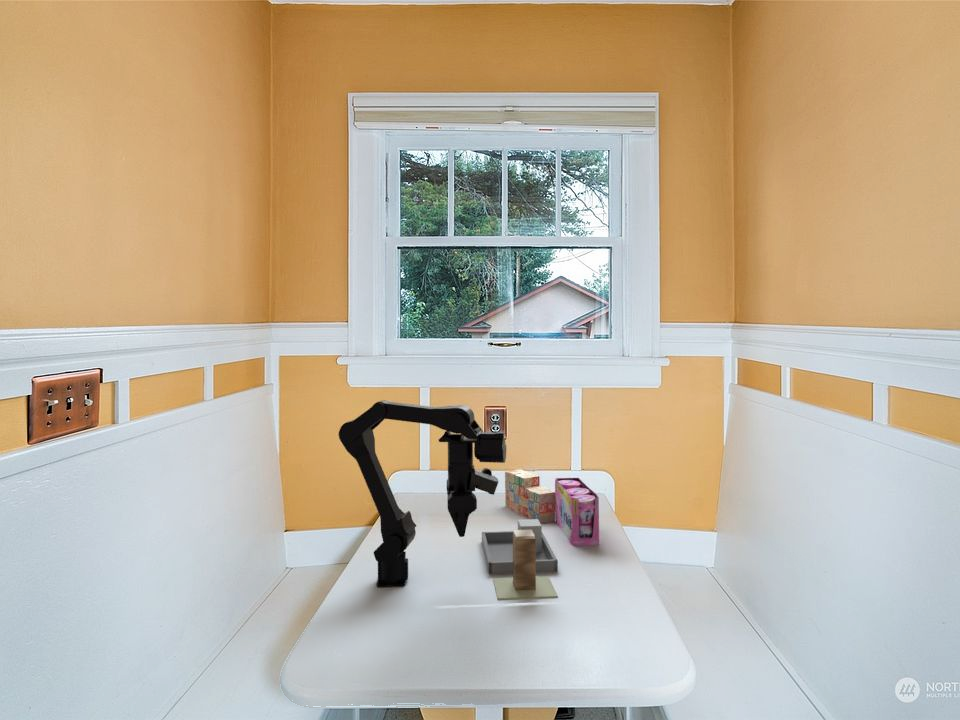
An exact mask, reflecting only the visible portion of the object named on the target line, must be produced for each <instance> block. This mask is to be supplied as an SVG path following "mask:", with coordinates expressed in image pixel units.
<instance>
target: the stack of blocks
mask: <svg viewBox="0 0 960 720" xmlns="http://www.w3.org/2000/svg"><path fill="white" fill-rule="evenodd" d="M540 481H541V480H540V476H539V475H537V474H534V473H531V472H528V471H526V470H524V469H520V468H519V469H512V470H505V471H504V482H505V483H504V488H505V507H506V508H509V509H510V510H511V511H513V512H515V513H517V514H519V515H522V516H524V517H525V516H526V517H525V518H526V519H527V518H528V519H538V520H539V522H540V524H545V522H546V523H550V522H551V523H552V522H556V521H555V490H552V489H550V488H547V487H545V486H541V485H540V483H541V482H540Z"/></svg>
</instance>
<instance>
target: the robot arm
mask: <svg viewBox="0 0 960 720" xmlns="http://www.w3.org/2000/svg"><path fill="white" fill-rule="evenodd" d="M384 420H391V421H401V422H406V423H407V422H409V423H417V424H426V425H430V426H434V427H436V428H438V429H441V430H443V431H444V433H443V435H442V436H441V437H440V438H438V443H447V479H446V492H447V493H446V495H447V498H446V499H447V511H448V513H449V515H450V517H451V520H452V522H453V524H454V527H455V529H456V533H457V535H458V536H459V538H464V537H465V535H466V534H465V533H466V530H467V525H468V521H469V518H470V515H471V514H473V513H474V512H475V511H476V510H477V508H478V499H477V495H476V494H474V493H473V492H476V489H477V490H480V491H483V492H486V493H488V494H489V495H492V496H493V495H495V493H496V490H497V487H498V485H499V479H498V477H496V476H495V475H493V474H492V469H490V468H488V467H484V468H483V469H482V470H476V469H475V465H474V457H475V458H476V460H478V462H479V463H493V464H494V463H497V464H499V463H500V464H501V463H502V464H505V463H506V460H507V444H506V439H505V432H504V431H497V432H484V430H483V429H482V428H481V426H480V425H479V423H478V422H477V421H476V419H475V414H474V411H473V410H472V409H471V407H470V406H468V405H465V404H456V405H447V406H446V405H445V406H429V405H419V404H411V403H402V402H395V401H389V400H384V399H383V400H379V401H377V402H375V403H374V404H372V405H371V406H370V408H368V409H367V410H365V411H364V412H363V413H362V414H360V415H359V416H357V417H356V418H355V419H353V420H349V421H347V422H345V423H343V424H342V425H341V426H340V428H339V431H338V439H339V440H340V442H341V444H342V445H343V447H344V449H345V451H347V453H349V455H350V456H351V457H352V458H353V459H354V460H355V461H356V463H357V466H358V468H359V470H360V472H361V474H362V477H363V479H364V482H365V484H366V486H367V489H368V491H369V493H370V496H371V498H372V501H373V503H374V505H375V508H376V510H377V512H378V515H379V518H380V535H381V538H382V543H381V544H380V545H379V546H378V547H376V549H375V550H374V551H373V555H374V559H375V561H376V562H377V581H376V587H377V588H378V587H379V588H380V587H383V588H385V587H404V586H406V584H407V583H406V582H407V581H408V579H409V558H407V557H406V555H407V553H406V551H405V550H406V549H407V548H408V547H409V545H410V544H411V543H413V540H415V537H416V527H417V523H415V522H414V519H413V517H412V513H411V511H410V510H408V511H406V512H404V511H403V510H402V509H401V508H400V507H399V505H398V503H397V501H396V497H395V496H394V493H393V491H392V489H391V486H390V483H389V482H388V479H387V477H386V475H385V472H384V470H383V467H382V465H381V463H380V460H379V458H378V456H377V454H376V441H375V440H376V438H375V435H374V434H375V433H374V431H373V430H375V429H376V428H377V427H378V426H379V425H380V424H381V423H382V422H383V421H384Z"/></svg>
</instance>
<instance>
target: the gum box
mask: <svg viewBox="0 0 960 720" xmlns="http://www.w3.org/2000/svg"><path fill="white" fill-rule="evenodd" d="M554 492H555V521H554V522H555V523H556V524H557V525H558V527H559V528H560V529H561V531H562V533H563V534H564V536H565V537H566V539H567V540H568V543H570V545H571V546H572V547H573V546H597V545H600V506H599V505H600V503H599V502H600V501H599V499H600V497H599V496H598V494H597V493H596V492H595V491H594V490H592V489H591V488H589V486H588V485H586V483H585V482H584V481H583V480H582V479H581V478H579V477H556V478H555V479H554Z"/></svg>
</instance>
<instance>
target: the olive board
mask: <svg viewBox="0 0 960 720" xmlns="http://www.w3.org/2000/svg"><path fill="white" fill-rule="evenodd" d="M493 585H494V590H495V593H496V597H497V601H502V600H505V601H506V600H508V601H509V600H531V599H533V600H534V599H551V598H552V599H553V598H554V599H555V598H556V599H557V598H559V596H558V593H557V592H556V589H555V587H554V585H553V582H552V580H551V579H550V577H549V576H536V590H520V591H515V587H514V584H513V577H501V578H500V577H498V578H493Z"/></svg>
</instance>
